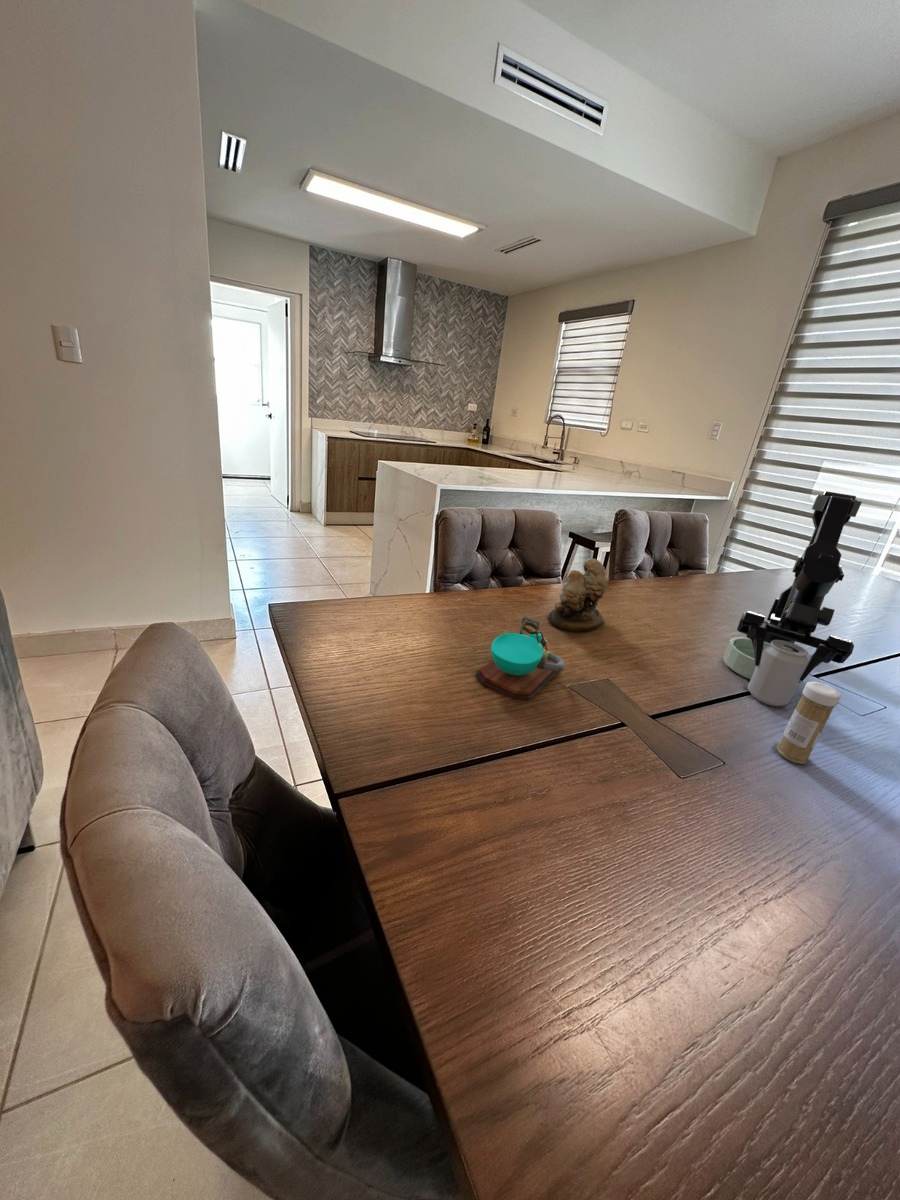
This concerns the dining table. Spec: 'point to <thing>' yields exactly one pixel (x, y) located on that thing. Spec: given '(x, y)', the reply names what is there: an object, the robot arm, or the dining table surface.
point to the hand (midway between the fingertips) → (778, 672)
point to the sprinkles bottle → (807, 722)
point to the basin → (741, 656)
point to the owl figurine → (581, 598)
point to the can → (778, 673)
